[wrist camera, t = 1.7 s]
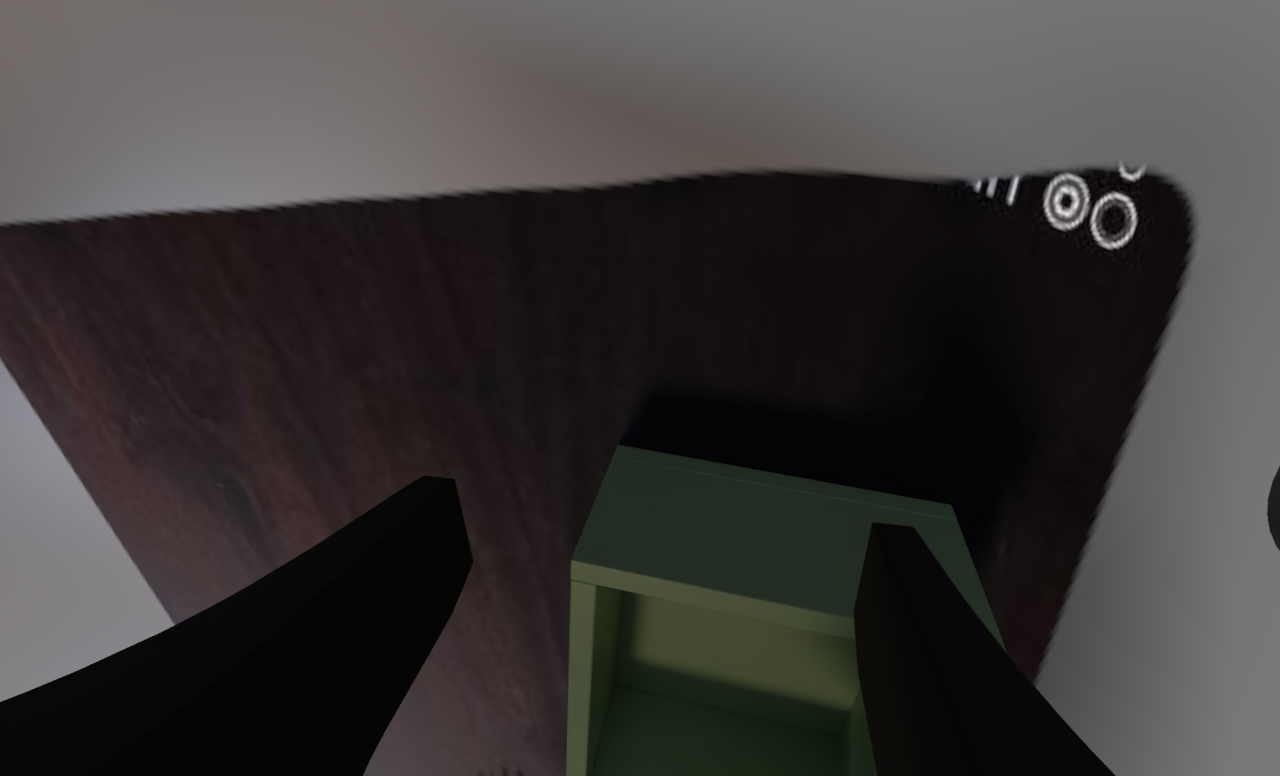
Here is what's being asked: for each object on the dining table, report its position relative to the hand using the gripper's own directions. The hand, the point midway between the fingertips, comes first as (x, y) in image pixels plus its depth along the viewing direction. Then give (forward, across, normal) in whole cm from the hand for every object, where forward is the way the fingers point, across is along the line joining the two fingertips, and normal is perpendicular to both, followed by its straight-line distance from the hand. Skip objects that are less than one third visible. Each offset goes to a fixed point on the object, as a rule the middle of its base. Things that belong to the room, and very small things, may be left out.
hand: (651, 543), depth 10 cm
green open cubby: (+10, -2, +12) cm, 16 cm away
